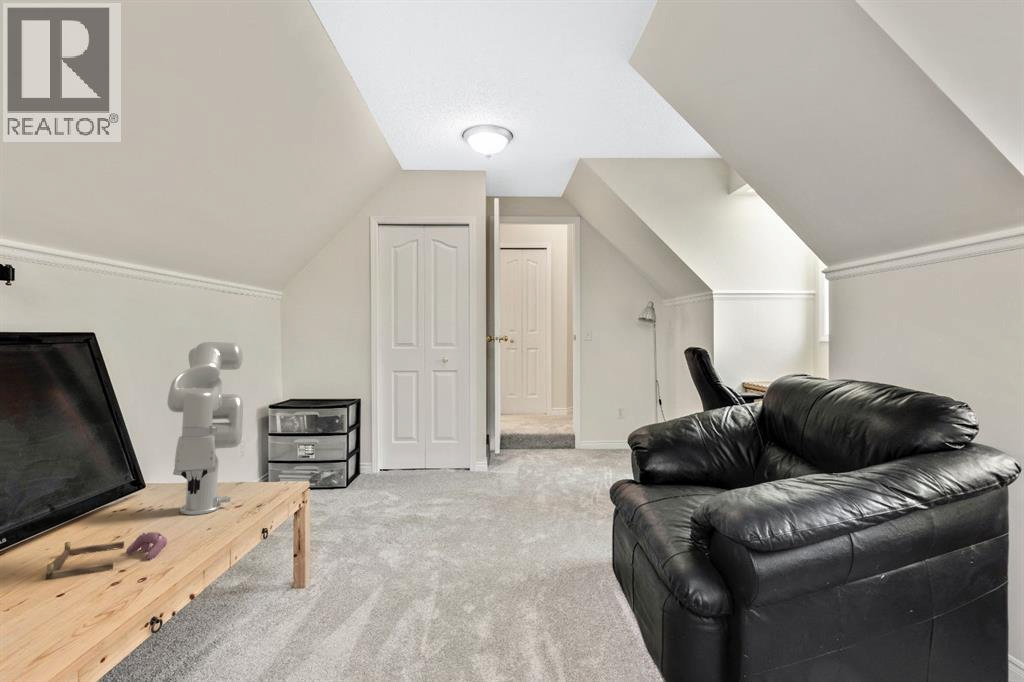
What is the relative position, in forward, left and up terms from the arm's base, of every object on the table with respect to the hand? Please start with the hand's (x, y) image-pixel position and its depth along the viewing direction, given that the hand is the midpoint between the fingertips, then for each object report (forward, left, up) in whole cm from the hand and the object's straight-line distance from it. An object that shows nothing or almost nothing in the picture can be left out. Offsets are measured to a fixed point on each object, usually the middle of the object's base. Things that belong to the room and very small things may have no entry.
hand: (193, 492), depth 144 cm
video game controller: (+10, 0, -17) cm, 20 cm away
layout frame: (+23, 0, -16) cm, 28 cm away
